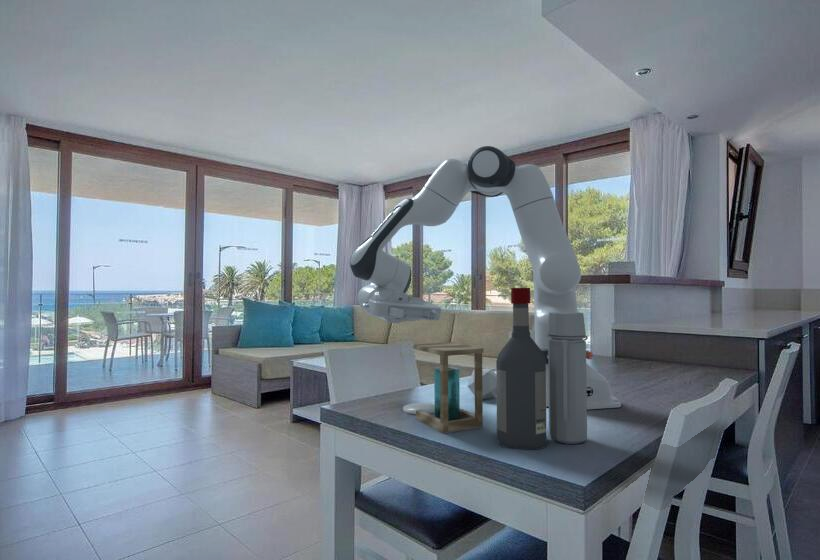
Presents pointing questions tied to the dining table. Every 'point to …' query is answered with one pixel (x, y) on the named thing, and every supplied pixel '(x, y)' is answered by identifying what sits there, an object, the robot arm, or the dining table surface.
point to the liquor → (521, 383)
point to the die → (485, 383)
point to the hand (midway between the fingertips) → (420, 315)
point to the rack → (466, 417)
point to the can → (452, 393)
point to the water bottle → (567, 377)
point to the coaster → (419, 408)
